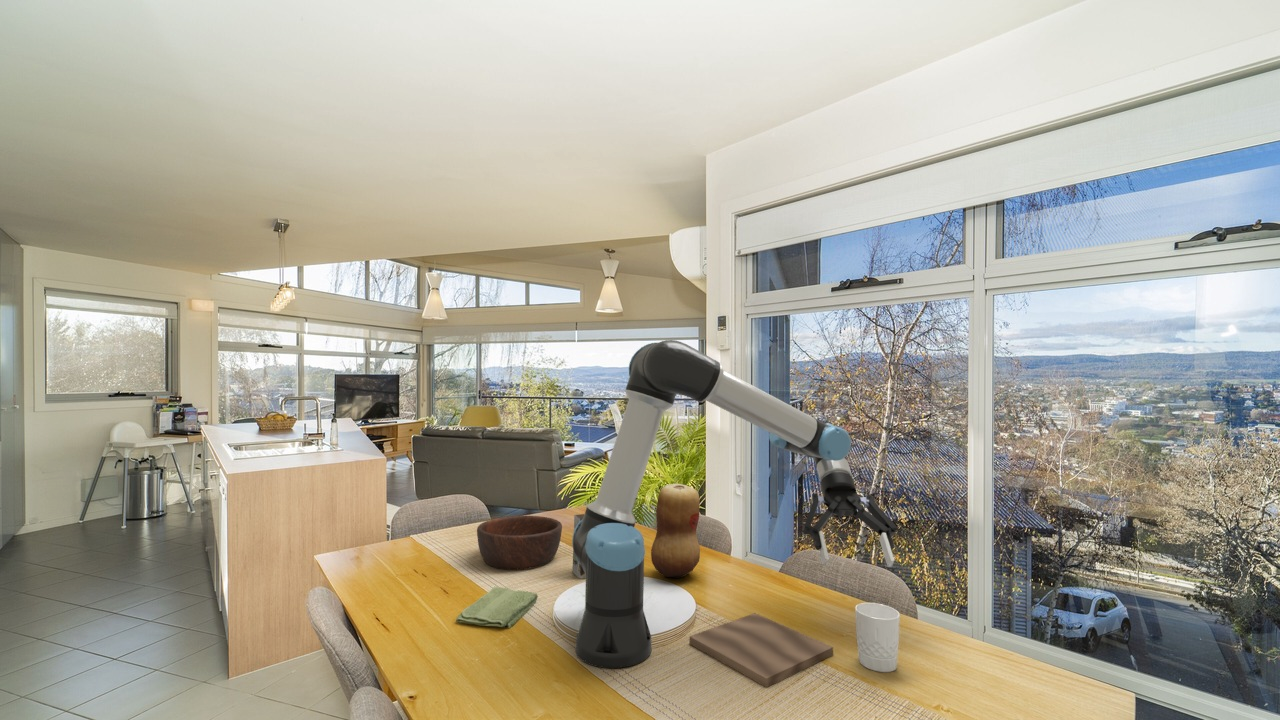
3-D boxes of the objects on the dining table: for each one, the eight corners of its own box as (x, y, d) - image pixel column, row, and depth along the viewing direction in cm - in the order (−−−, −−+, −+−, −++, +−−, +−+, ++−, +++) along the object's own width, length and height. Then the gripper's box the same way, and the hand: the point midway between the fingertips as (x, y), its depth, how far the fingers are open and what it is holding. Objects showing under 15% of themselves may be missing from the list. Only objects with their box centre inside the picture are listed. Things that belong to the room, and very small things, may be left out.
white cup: (905, 676, 101) (904, 621, 101) (859, 671, 103) (859, 616, 103) (894, 656, 109) (893, 604, 109) (852, 651, 110) (851, 600, 111)
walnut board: (766, 687, 97) (766, 678, 97) (689, 643, 113) (689, 636, 113) (833, 654, 109) (832, 647, 109) (754, 619, 125) (754, 612, 125)
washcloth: (452, 626, 120) (453, 611, 120) (493, 596, 137) (494, 583, 137) (507, 634, 117) (507, 618, 117) (542, 602, 134) (542, 589, 134)
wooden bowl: (553, 574, 153) (554, 537, 153) (464, 573, 153) (465, 535, 153) (567, 548, 178) (567, 515, 178) (489, 546, 178) (490, 514, 178)
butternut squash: (685, 588, 143) (686, 491, 144) (641, 578, 150) (643, 486, 151) (708, 573, 155) (709, 484, 156) (666, 564, 162) (667, 479, 163)
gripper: (884, 489, 135) (913, 572, 119) (781, 487, 136) (796, 570, 120) (893, 471, 130) (924, 555, 114) (786, 469, 131) (802, 553, 115)
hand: (858, 563), depth 117 cm, fingers open, 13 cm apart
